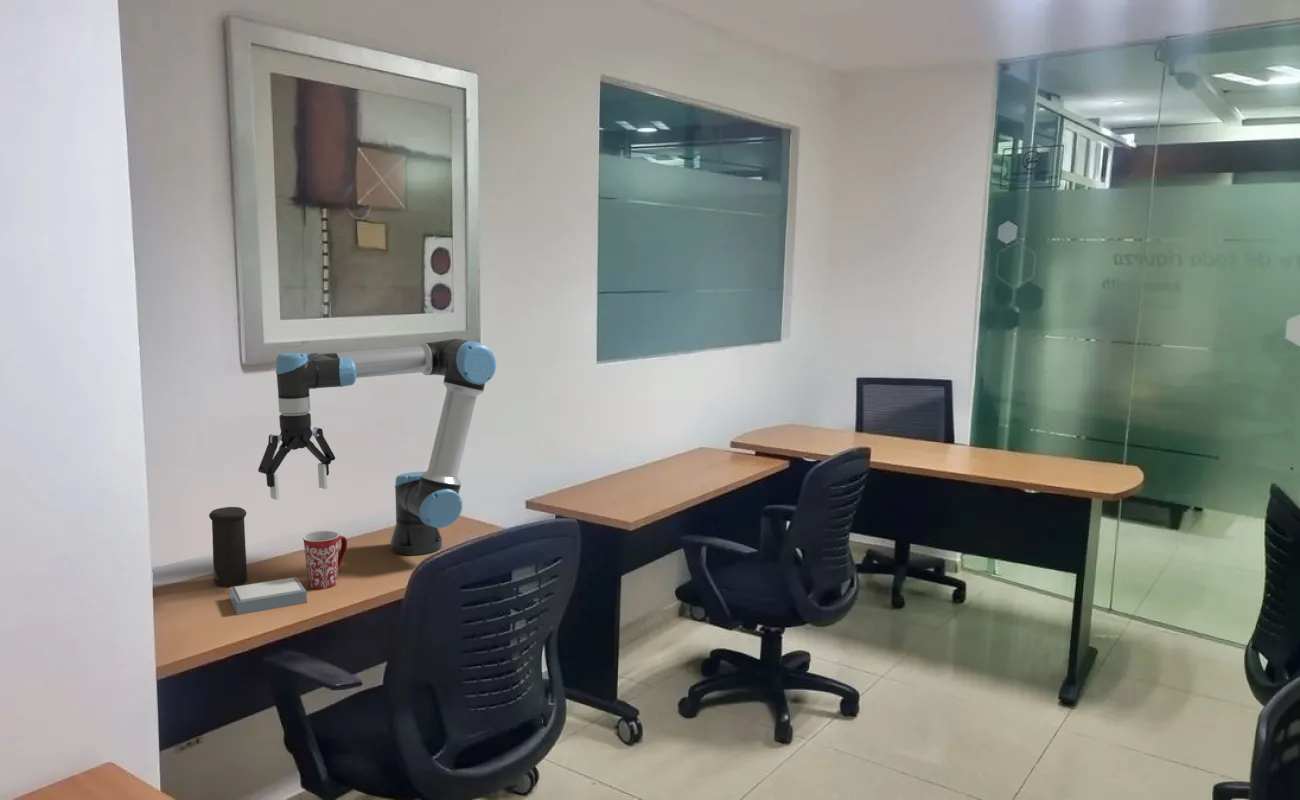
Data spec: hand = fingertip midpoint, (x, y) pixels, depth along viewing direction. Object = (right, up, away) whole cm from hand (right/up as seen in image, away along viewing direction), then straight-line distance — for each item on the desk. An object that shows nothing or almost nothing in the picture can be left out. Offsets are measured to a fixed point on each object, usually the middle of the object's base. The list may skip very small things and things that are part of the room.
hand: (299, 493), depth 231 cm
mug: (+5, -25, +6) cm, 26 cm away
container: (-20, -24, +4) cm, 32 cm away
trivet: (-5, -26, -8) cm, 28 cm away
